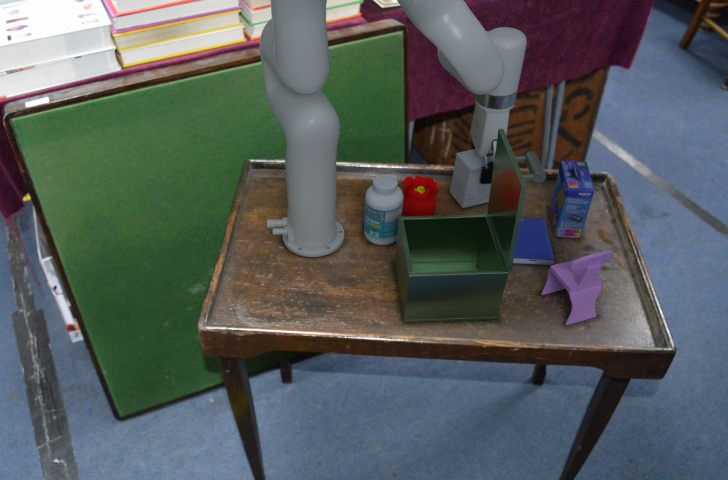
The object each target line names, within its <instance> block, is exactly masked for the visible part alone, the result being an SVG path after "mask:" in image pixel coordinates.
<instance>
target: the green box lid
mask: <svg viewBox="0 0 728 480" xmlns="http://www.w3.org/2000/svg"><path fill="white" fill-rule="evenodd" d="M522 162H523V163H525V165H526V167H527V170H528V172H529V173H526V174H525V173H524V174H523V173H522V170H521V167H520V165H519V163H522ZM546 179H547V175H546V173H545V170H544V168H543V166H542V164H541V162H540V160H539V157H538V155H537V153H536V152H535V151H533V150H532V151H531V150H530V151H527V152H525V154H524V155H516V156H515V153H514V151H513V149H512V146H511V143H510V142H509V139H508V136H507V135H506V134H505V132H504V129H498V137H497V144H496V152H495V159H494V166H493V174H492V181H491V189H490V196H489V202H487V203H488V204H487V214H488V215H489V218H490V221H491V224H492V227H493V230H494V234H495V237H496V240H497V243H498V246H499V249H500V252H501V255H502V258H503V261H504V264H505V267H506V270H507V271H508V272H509V271H511V272H512V269H513V264H514V263H513V259H514V254H515V248H516V243H517V237H518V232H519V226H520V221H521V218H522V216H523V209H524V204H525V200H526V199H525V198H526V193H527V187H528V184H527V182H526V181H533V183H535V184H542V183H543V182H545V181H546Z"/></svg>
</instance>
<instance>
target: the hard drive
mask: <svg viewBox="0 0 728 480" xmlns="http://www.w3.org/2000/svg"><path fill="white" fill-rule="evenodd" d="M554 256H555V254H554V252H553V248H552V243H551V238H550V234H549V230H548V226H547V221H546V219H545V218H535V217H521V221H520V226H519V232H518V237H517V243H516V248H515V254H514V259H513V264H519V265H523V264H524V265H543V266H552V265H555V261H556V260H555V257H554Z"/></svg>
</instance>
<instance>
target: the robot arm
mask: <svg viewBox="0 0 728 480" xmlns="http://www.w3.org/2000/svg"><path fill="white" fill-rule="evenodd" d="M396 1H397V3H398V4H399V6H400V8H401V9H402V10H403V12H404V14H405V15H406V16H407V18H408V19H409V20H410V22H411V23H412V24H413V25H414V26H415V28H416V29H417V30H418V31H419V32H420V33H421V34H422V35H423V36H424V37H425V38H426V39H428V40H429V42H431V43H432V44H433V45H434V46H435V47H436V48H437V59H438V61H439V63H440V65H441V66H442V67H443V68H444V69H445V71H447V72H448V73H449V74H450V75H451V76H452V77H453V78H454V79H456V80H457V82H459V83H460V84H461V85H462V86H463V87H464V88H465V89H466V90H467V91H469V92H470V93H472V94H475V100H474V102H475V106H474V110H473V115H472V120H471V121H472V122H471V125H470V131H469V132H470V137H471V140H472V141H471V142H472V146H471V150H473V149H476V152H477V154H478V155H479V156H480V157H482V156H484V166H483V167H482V172H481V178H480V183H481V184H491V181H492V174H493V166H494V159H495V152H496V144H497V137H498V129H504V132H505V134H506V136H507V134H508V127H509V121H510V110H512V109H513V108H514V107H515V104H516V100H517V94H518V90H519V89H518V88H519V85H520V84H519V83H520V79H521V74H522V70H523V64H524V59H525V55H526V50H527V43H528V41H527V37H526V34H525V33H524V32H523V31H521V30H520V29H518V28H514V27H507V26H501V27H495V28H492V29H491V30H486V29H485V28H484V26H483V25H482V23H481V22H480V21H479V19H478V18H477V17H476V16H475V14H474V13H473V11H472V10H471V9H470V7H469V6H468V4H467V3H466V2H465V0H396ZM327 3H328V0H270V14H271V18H270V19H269V20H268V21H267V22H266V24H265V25H264V27H263V28H262V31H261V34H260V38H259V53H260V55H259V57H260V62H261V69H262V76H263V81H264V87H265V93H266V98H267V103H268V106H269V109H270V111H271V112H272V115H273V116H274V117H275V119H276V121H277V122H278V125H279V126H280V128H281V130H282V132H283V134H284V137H285V141H286V149H285V156H284V170H285V173H284V174H285V179H286V180H285V183H286V184H285V185H286V197H287V199H286V200H287V213H286V214H287V216H283V217H282V218H266V228H267V229H272V236H279V235H281V236H282V242H283V244H284V246H285V248H287V249H288V250H289V251H290V252H291V253H293V254H296V255H298V256H301V257H307V258H318V257H324V256H327V255H330V254H332V253H335V252H336V251H337V250H338V249H339V248H340V247H341V246H342V244H343V243H344V241H345V228H344V226H343V225H342V224H341V222H340V221H338V219H337V217H338V215H337V214H338V213H337V211H338V210H337V209H338V208H337V207H338V206H337V204H338V202H337V198H338V197H337V195H338V194H337V189H338V188H337V177H338V176H337V159H338V157H337V156H338V147H339V142H340V136H341V123H340V119H339V116H338V113H337V111H336V109H335V107H334V105H332V103H331V101H330V100H329V99H328V97H327V96H326V95H325V94H324V92H322V90H321V89H322V88H323V87H324V86H325V84H326V82H327V80H328V77H329V75H330V69H331V68H330V67H331V60H330V51H329V39H328V27H327V26H328V25H327ZM489 150H492V153H488V151H489ZM488 156H493V159H492V161H490V162H489V163H488Z"/></svg>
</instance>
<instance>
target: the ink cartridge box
mask: <svg viewBox="0 0 728 480" xmlns="http://www.w3.org/2000/svg"><path fill="white" fill-rule="evenodd" d="M593 181H594V180H593V179H592V176H591V172H590V169H589V165H588V162H587V161H585V160H573V159H572V158H571V160H560V163H559V168H558V172H557V176H556V180H555V184H554V187H553V192H552V196H551V198H550V202H549V207H548V208H549V214H550V219H551V224H552V227H553V228H552V230H553V234H554V237H558V238H569V239H581V238H582V237H583V233H584V229H585V226H586V222H587V219H588V216H589V212H590V209H591V206H592V202H593V198H594V196H595V191H596V188H595V185H594V182H593Z"/></svg>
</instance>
